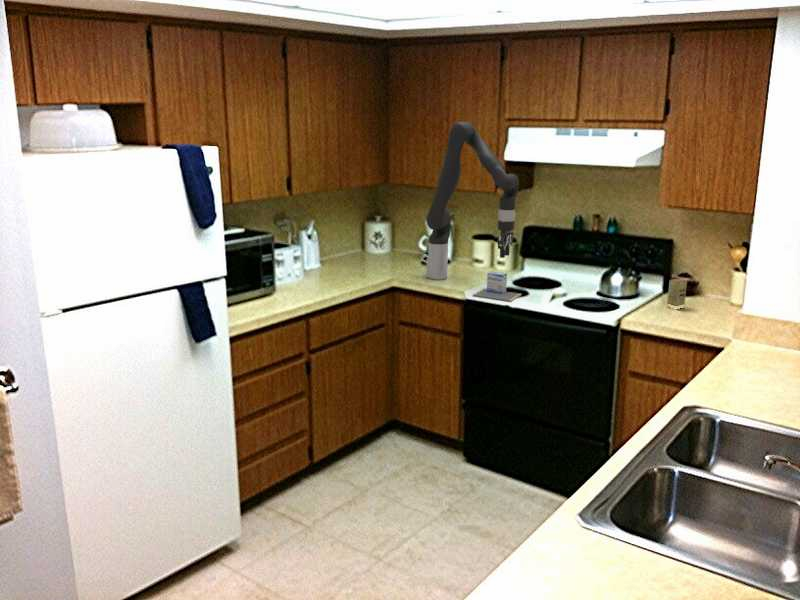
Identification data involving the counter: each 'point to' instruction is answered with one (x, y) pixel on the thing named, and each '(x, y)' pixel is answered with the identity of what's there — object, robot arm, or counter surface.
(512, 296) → the mat
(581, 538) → the counter surface
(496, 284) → the medicine box
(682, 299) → the shoe polish box
